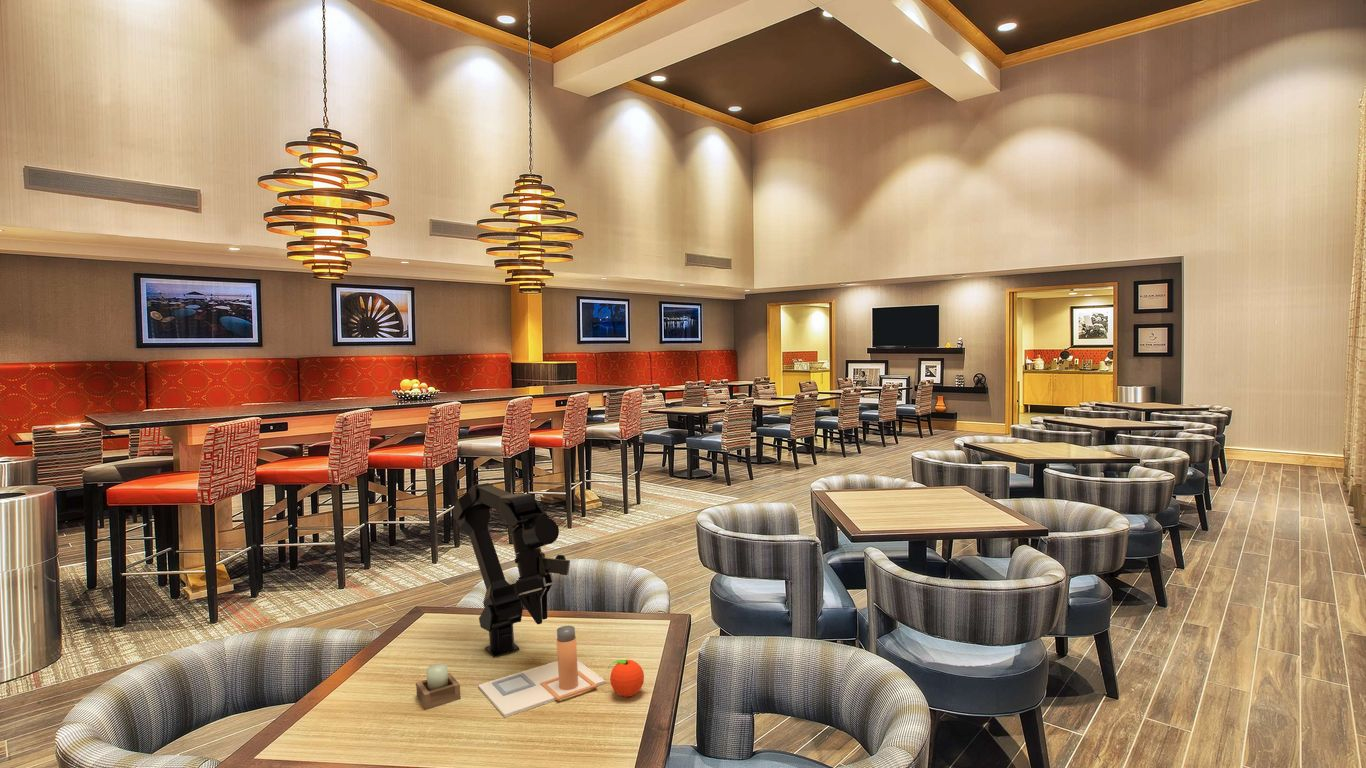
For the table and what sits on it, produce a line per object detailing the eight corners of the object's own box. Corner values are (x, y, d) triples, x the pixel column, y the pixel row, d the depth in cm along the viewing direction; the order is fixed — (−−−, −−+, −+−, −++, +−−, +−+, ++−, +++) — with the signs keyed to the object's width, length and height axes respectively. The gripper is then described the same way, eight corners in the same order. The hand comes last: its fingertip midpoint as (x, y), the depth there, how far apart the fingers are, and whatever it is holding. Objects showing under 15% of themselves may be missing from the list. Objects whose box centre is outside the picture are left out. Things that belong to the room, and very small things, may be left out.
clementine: (600, 699, 138) (598, 664, 138) (615, 684, 144) (614, 650, 144) (635, 705, 135) (634, 669, 135) (650, 689, 141) (648, 655, 141)
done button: (425, 686, 142) (424, 667, 142) (445, 680, 144) (444, 661, 144) (430, 693, 139) (429, 674, 139) (450, 687, 141) (449, 668, 141)
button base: (416, 696, 143) (416, 682, 143) (450, 686, 147) (450, 672, 147) (425, 709, 137) (424, 694, 137) (460, 698, 141) (459, 684, 141)
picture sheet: (478, 687, 145) (478, 683, 145) (572, 658, 158) (572, 654, 158) (507, 720, 131) (507, 716, 131) (608, 685, 144) (608, 681, 143)
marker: (555, 688, 142) (552, 631, 142) (565, 680, 146) (562, 624, 145) (572, 691, 141) (569, 633, 140) (581, 682, 144) (579, 626, 144)
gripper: (559, 541, 145) (575, 616, 142) (567, 541, 163) (581, 607, 160) (506, 555, 144) (522, 630, 140) (520, 553, 162) (534, 620, 159)
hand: (542, 621), depth 150 cm, fingers open, 9 cm apart
